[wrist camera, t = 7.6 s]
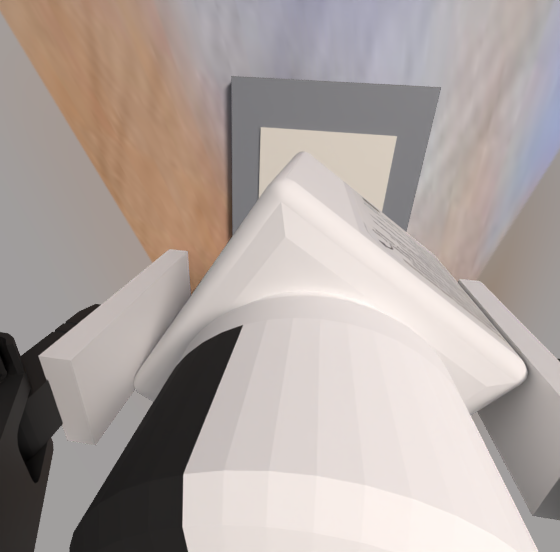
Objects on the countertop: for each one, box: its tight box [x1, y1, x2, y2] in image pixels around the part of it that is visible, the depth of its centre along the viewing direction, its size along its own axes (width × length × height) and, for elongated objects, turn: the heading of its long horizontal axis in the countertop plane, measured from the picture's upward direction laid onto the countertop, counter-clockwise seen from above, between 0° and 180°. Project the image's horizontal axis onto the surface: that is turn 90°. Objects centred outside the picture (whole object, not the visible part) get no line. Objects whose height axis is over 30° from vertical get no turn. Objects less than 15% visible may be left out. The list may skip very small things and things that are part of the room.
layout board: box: [231, 76, 441, 235], centre depth 29 cm, size 18×16×1 cm
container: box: [70, 151, 538, 552], centre depth 10 cm, size 8×8×13 cm
